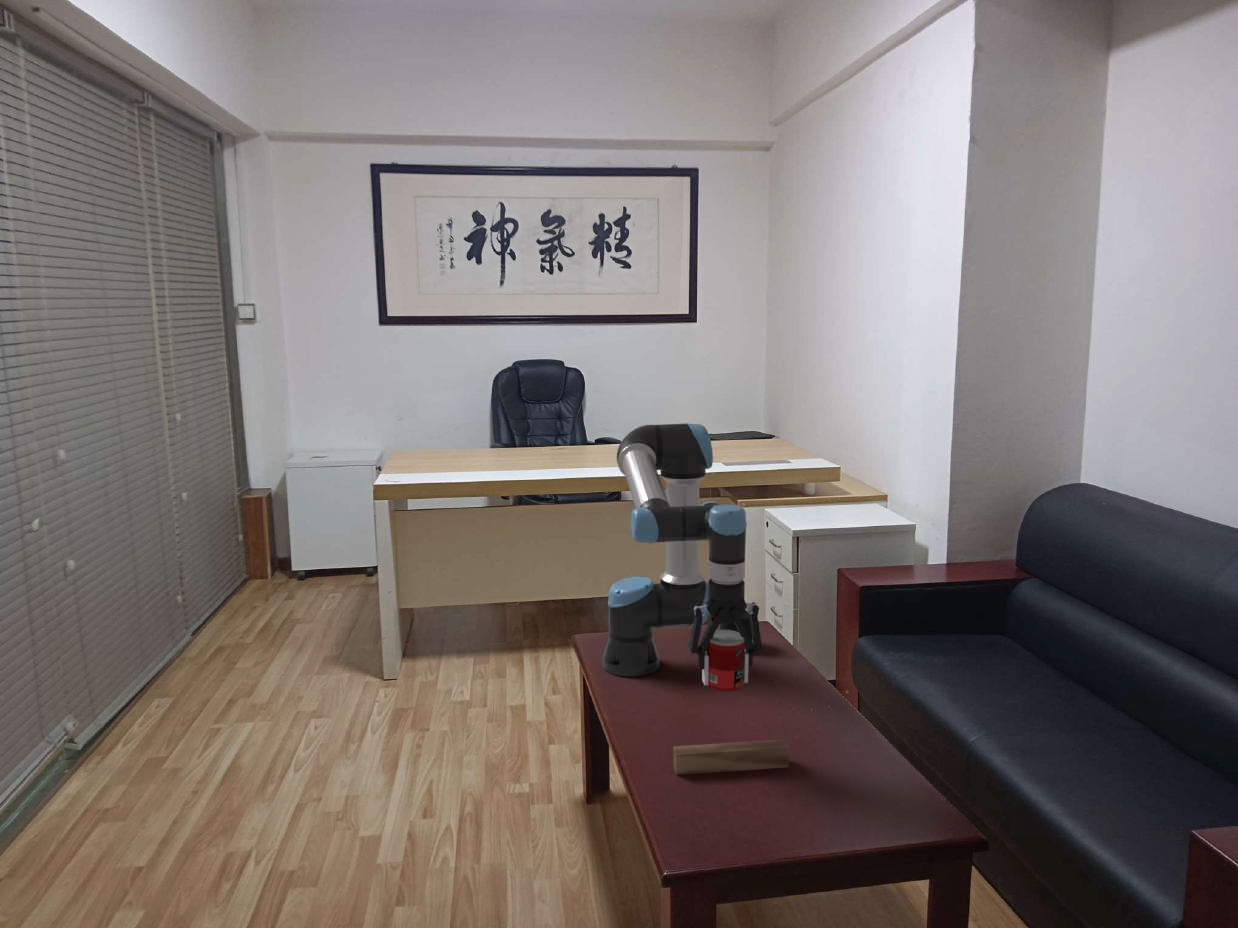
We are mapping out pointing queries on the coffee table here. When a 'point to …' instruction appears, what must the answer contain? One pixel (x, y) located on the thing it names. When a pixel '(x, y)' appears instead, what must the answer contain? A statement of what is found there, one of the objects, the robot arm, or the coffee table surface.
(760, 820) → the coffee table surface
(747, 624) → the pen holder
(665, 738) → the coffee table surface
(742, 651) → the canned food
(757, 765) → the board
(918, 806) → the coffee table surface
